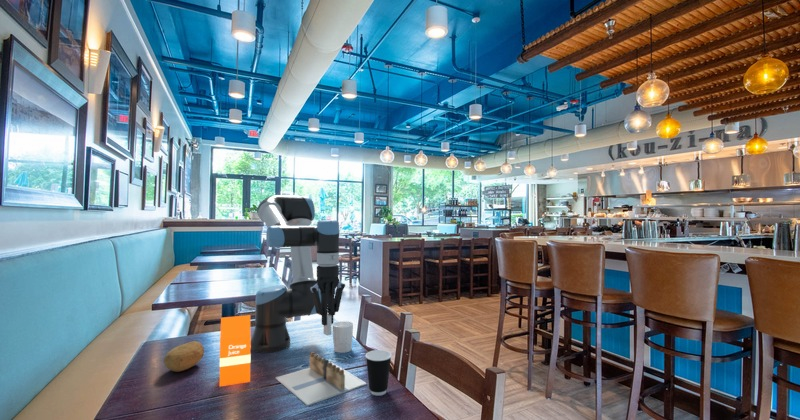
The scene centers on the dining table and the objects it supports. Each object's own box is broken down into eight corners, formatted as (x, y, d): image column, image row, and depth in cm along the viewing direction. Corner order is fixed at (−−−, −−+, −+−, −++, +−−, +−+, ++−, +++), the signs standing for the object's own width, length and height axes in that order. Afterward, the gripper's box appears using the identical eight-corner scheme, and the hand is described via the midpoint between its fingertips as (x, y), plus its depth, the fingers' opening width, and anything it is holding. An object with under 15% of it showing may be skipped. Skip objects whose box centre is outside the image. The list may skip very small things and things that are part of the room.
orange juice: (220, 376, 119) (221, 314, 119) (249, 372, 122) (250, 312, 123) (219, 386, 112) (220, 321, 112) (250, 381, 115) (251, 318, 116)
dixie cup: (359, 391, 110) (359, 354, 110) (379, 383, 115) (380, 347, 115) (376, 401, 104) (376, 362, 104) (397, 392, 109) (397, 355, 109)
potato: (153, 376, 119) (154, 351, 119) (187, 359, 132) (187, 337, 132) (179, 379, 116) (179, 354, 117) (211, 362, 130) (211, 339, 130)
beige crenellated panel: (325, 375, 118) (326, 359, 119) (322, 376, 118) (322, 360, 118) (312, 366, 125) (312, 351, 125) (309, 367, 124) (309, 352, 125)
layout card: (275, 378, 118) (275, 377, 118) (330, 362, 131) (330, 361, 131) (307, 406, 101) (307, 404, 101) (366, 384, 114) (366, 383, 114)
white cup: (348, 354, 139) (349, 327, 139) (329, 352, 140) (329, 326, 140) (355, 347, 146) (355, 321, 146) (336, 345, 148) (337, 320, 148)
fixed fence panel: (323, 379, 117) (323, 360, 117) (326, 378, 118) (327, 359, 118) (340, 391, 109) (341, 371, 109) (344, 390, 110) (345, 370, 110)
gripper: (315, 267, 119) (315, 340, 119) (349, 264, 128) (349, 332, 127) (305, 265, 125) (304, 335, 124) (338, 262, 133) (338, 327, 133)
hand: (327, 333), depth 126 cm, fingers closed
